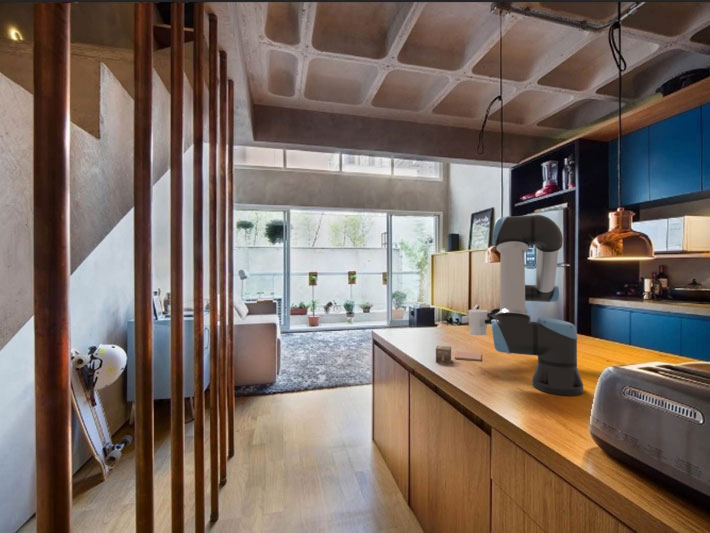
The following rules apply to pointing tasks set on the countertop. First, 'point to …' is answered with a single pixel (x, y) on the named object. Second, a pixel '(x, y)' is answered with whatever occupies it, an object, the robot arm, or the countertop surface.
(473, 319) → the white cup
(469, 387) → the countertop surface
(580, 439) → the countertop surface
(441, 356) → the letter block
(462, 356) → the coaster
